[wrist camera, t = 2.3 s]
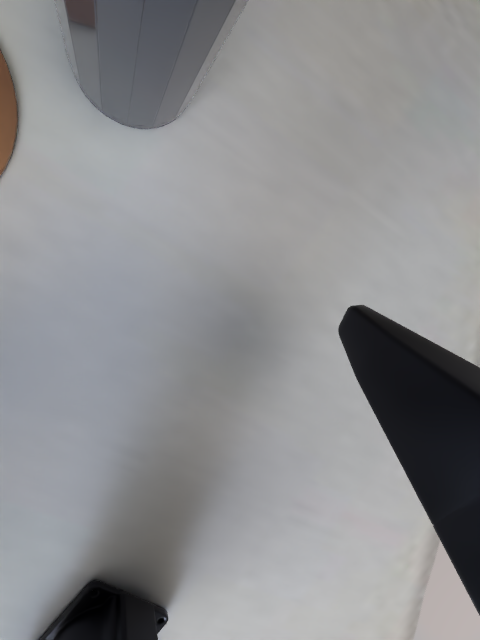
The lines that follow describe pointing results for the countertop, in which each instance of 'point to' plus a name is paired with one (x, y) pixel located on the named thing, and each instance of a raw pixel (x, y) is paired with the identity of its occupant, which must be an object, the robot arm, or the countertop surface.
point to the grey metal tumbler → (144, 53)
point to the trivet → (7, 115)
